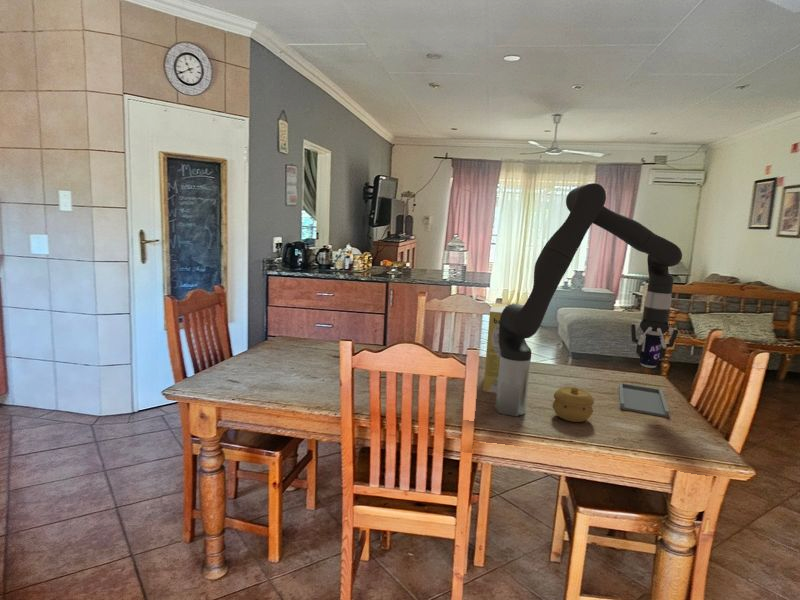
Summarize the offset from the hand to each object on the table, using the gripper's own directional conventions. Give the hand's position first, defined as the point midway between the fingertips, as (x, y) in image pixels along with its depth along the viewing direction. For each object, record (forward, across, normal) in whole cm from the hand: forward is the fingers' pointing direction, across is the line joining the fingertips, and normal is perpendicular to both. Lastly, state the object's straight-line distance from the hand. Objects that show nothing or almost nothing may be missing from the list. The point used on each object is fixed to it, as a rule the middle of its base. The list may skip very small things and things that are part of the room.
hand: (649, 356), depth 164 cm
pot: (+18, -21, -23) cm, 36 cm away
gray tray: (+17, 0, +6) cm, 18 cm away
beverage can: (+3, 0, 0) cm, 3 cm away
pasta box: (+18, -47, -3) cm, 50 cm away
